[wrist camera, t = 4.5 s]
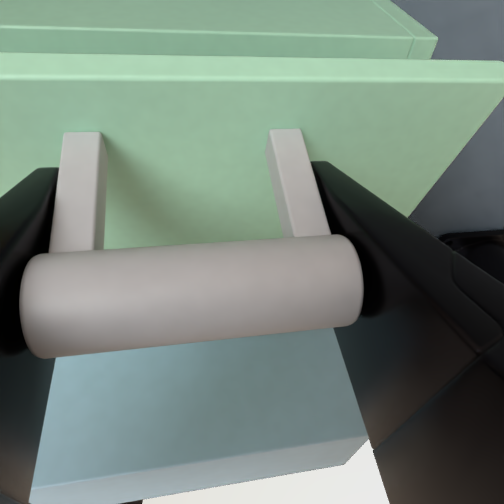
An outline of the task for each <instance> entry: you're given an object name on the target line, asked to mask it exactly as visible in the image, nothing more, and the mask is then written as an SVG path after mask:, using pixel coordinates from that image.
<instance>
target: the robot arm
mask: <svg viewBox="0 0 504 504" xmlns="http://www.w3.org/2000/svg"><path fill="white" fill-rule="evenodd" d="M310 163H311V166H312V170H313V173H314V176H315V180H316V183H317V187H318V190H319V194H320V197H321V201H322V204H323V208H324V211H325V215H326V218H327V221H328V225H329V228H330V232H331V235H336V234H338V235H342V236H344V237H346V238H348V239H349V240H350V241H351V243H352V244H353V246H354V248H355V250H356V252H357V254H358V257H359V260H360V264H361V268H362V274H363V283H364V297H363V305H362V309H361V313H360V315H359V317H358V319H357V320H356V321H355V322H354V323H353V324H351V325H349V326H343V327H334V328H333V329H334V332H335V335H336V338H337V341H338V344H339V347H340V350H341V354H342V357H343V360H344V363H345V366H346V369H347V372H348V375H349V378H350V381H351V384H352V388H353V391H354V394H355V397H356V400H357V403H358V406H359V409H360V412H361V415H362V419H363V422H364V425H365V428H366V431H367V434H368V437H369V440H370V443H371V446H372V448H373V449H374V450H373V453H374V456H375V459H376V463H377V466H378V469H379V472H380V475H381V478H382V481H383V484H384V487H385V490H386V493H387V497H388V500H389V503H390V504H504V230H493V231H479V232H464V233H449V234H445V235H443V236H441V237H440V238H439V239H437V238H436V237H434V236H433V235H431V234H430V233H429V232H427V231H426V230H424V229H423V228H421V227H420V226H419V225H417V224H416V223H414V222H413V221H412V220H410V219H409V218H407V217H406V216H404V215H403V214H402V213H400V212H399V211H397V210H396V209H395V208H393V207H392V206H390V205H389V204H387V203H386V202H385V201H383V200H382V199H380V198H379V197H378V196H376V195H375V194H373V193H372V192H370V191H369V190H368V189H366V188H365V187H363V186H362V185H360V184H359V183H358V182H356V181H355V180H353V179H352V178H351V177H349V176H348V175H346V174H345V173H343V172H342V171H341V170H339V169H338V168H336V167H335V166H334V165H332V164H331V163H329V162H328V161H310ZM58 174H59V167H41V168H37V169H35V170H34V171H33V172H32V173H30V174H29V175H28V176H27V177H25V178H24V179H23V180H21V181H20V182H19V183H18V184H16V185H15V186H14V187H13V188H11V189H10V190H9V191H8V192H6V193H5V194H4V195H3V196H1V197H0V504H28V503H29V498H30V492H31V487H32V482H33V476H34V471H35V466H36V461H37V455H38V450H39V445H40V440H41V434H42V429H43V424H44V418H45V413H46V408H47V403H48V397H49V392H50V387H51V381H52V376H53V371H54V366H55V360H56V358H48V359H43V358H39V357H36V356H34V355H33V354H32V353H31V351H30V350H29V348H28V346H27V344H26V341H25V339H24V335H23V331H22V326H21V320H20V309H19V298H20V287H21V281H22V277H23V273H24V270H25V267H26V265H27V263H28V262H29V260H30V259H31V258H32V257H34V256H36V255H38V254H44V253H49V245H50V237H51V229H52V221H53V213H54V205H55V198H56V190H57V182H58Z"/></svg>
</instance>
